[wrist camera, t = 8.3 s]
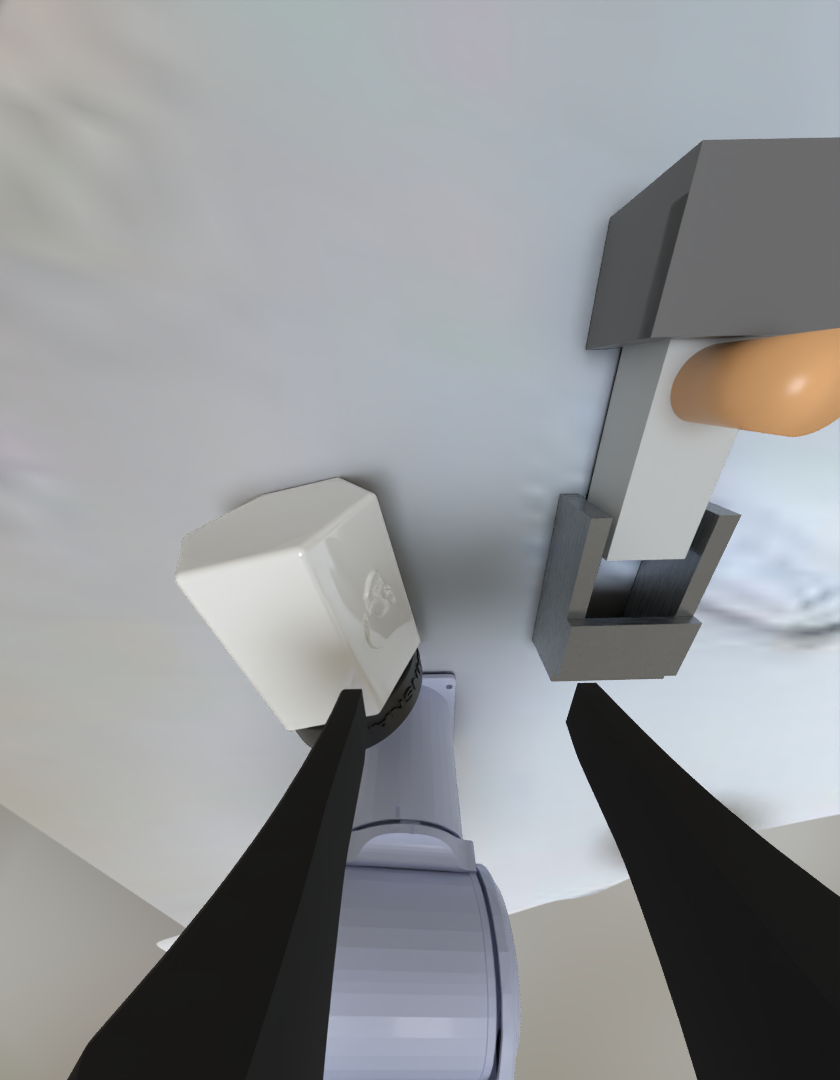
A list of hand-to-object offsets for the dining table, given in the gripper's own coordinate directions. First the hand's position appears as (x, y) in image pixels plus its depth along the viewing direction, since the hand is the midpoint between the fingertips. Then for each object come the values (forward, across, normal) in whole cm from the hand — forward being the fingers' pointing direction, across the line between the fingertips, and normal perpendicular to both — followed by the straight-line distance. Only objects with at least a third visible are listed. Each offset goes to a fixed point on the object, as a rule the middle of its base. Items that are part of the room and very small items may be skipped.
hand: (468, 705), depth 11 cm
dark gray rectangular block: (+10, -10, -14) cm, 20 cm away
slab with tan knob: (+10, -10, -8) cm, 16 cm away
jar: (+6, +8, -5) cm, 11 cm away
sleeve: (+10, -10, +1) cm, 14 cm away
